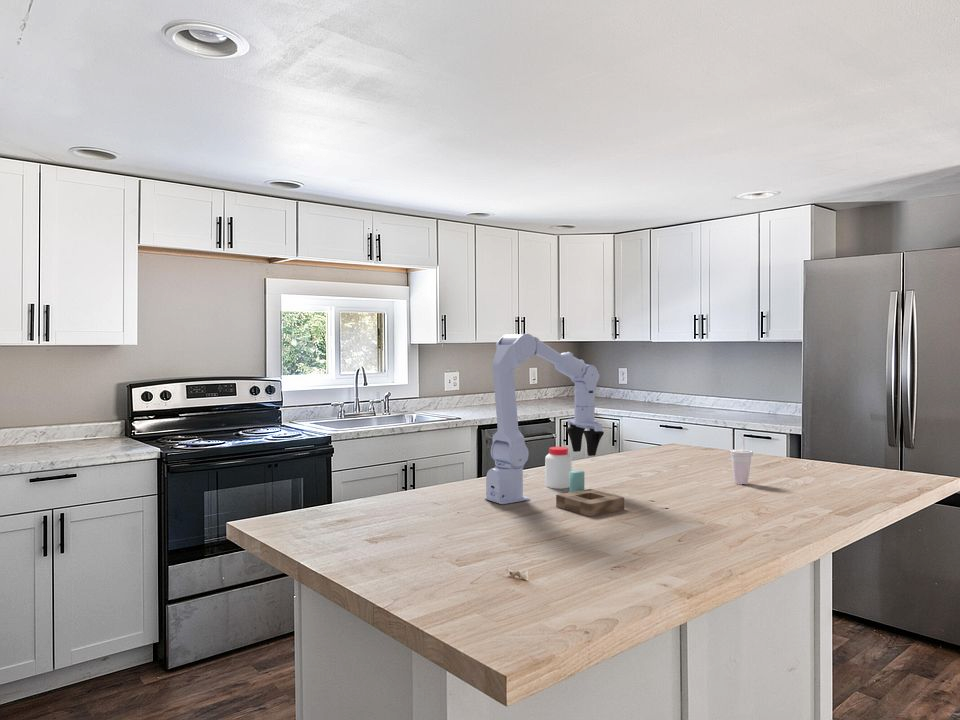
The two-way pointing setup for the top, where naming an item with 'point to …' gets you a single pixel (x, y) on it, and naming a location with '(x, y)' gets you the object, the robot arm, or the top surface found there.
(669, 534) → the top surface
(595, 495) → the socket block
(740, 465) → the smoothie
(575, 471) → the dowel
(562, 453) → the pill bottle
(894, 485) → the top surface
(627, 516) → the top surface
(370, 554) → the top surface
